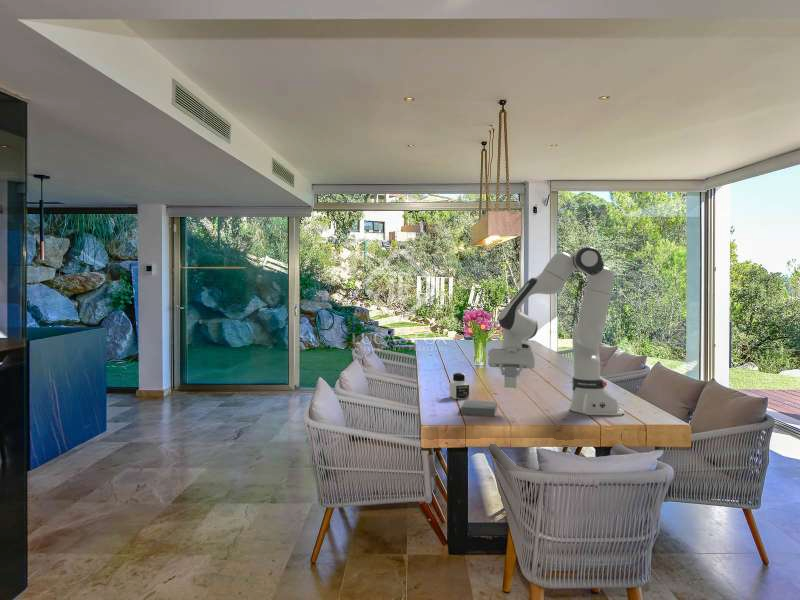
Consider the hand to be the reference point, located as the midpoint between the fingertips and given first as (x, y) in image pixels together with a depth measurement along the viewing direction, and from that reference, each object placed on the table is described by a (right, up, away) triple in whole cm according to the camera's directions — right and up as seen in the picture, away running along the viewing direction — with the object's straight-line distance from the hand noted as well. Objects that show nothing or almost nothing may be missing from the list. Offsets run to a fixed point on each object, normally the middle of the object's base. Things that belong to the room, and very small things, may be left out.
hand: (510, 374), depth 233 cm
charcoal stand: (-13, -16, +1) cm, 21 cm away
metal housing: (0, -5, +1) cm, 5 cm away
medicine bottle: (-19, -16, +30) cm, 39 cm away
